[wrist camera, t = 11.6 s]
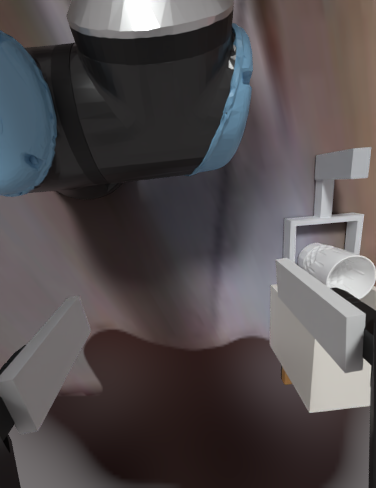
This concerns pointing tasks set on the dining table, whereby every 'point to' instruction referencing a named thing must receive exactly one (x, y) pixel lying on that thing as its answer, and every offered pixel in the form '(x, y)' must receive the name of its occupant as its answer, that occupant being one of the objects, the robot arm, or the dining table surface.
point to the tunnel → (316, 362)
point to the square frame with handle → (326, 171)
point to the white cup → (338, 268)
